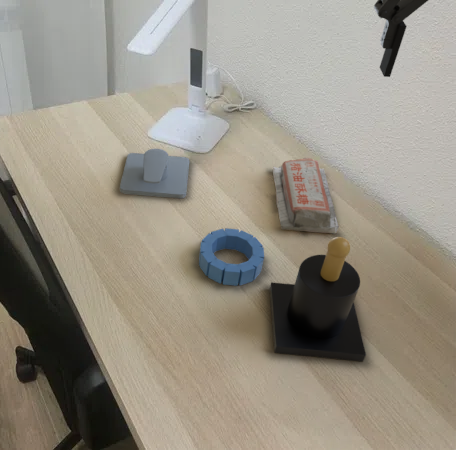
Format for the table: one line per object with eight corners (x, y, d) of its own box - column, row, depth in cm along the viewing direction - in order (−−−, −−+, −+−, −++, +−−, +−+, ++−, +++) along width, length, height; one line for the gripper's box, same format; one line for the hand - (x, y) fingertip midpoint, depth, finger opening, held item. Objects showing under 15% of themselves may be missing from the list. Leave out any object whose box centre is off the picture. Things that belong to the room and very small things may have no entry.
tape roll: (259, 244, 92) (262, 231, 91) (262, 288, 85) (265, 274, 83) (200, 239, 93) (201, 226, 91) (197, 282, 85) (199, 268, 84)
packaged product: (345, 214, 92) (284, 209, 92) (337, 235, 95) (279, 231, 95) (328, 154, 105) (275, 150, 106) (322, 174, 108) (271, 171, 109)
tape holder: (348, 296, 84) (380, 213, 74) (362, 361, 75) (401, 278, 64) (269, 289, 85) (289, 206, 74) (274, 353, 76) (298, 268, 65)
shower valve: (116, 177, 96) (128, 132, 108) (116, 202, 100) (128, 156, 111) (187, 183, 96) (191, 137, 107) (185, 207, 99) (189, 161, 111)
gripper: (399, -116, 55) (344, 82, 69) (660, -102, 53) (551, 96, 67) (382, -128, 61) (335, 57, 74) (619, -116, 59) (526, 70, 73)
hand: (438, 76), depth 71 cm, fingers open, 13 cm apart
